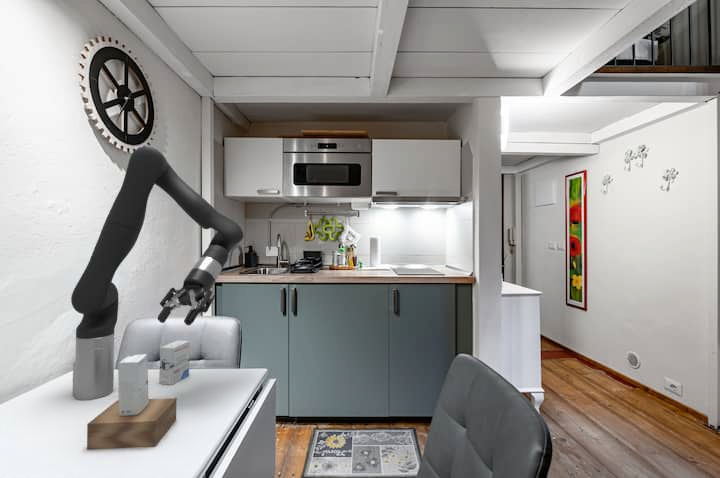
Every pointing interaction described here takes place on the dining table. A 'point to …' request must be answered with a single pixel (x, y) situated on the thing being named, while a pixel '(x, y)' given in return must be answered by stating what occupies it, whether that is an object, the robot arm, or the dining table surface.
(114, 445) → the walnut block
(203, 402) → the dining table surface
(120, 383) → the skincare box
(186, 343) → the ink box
